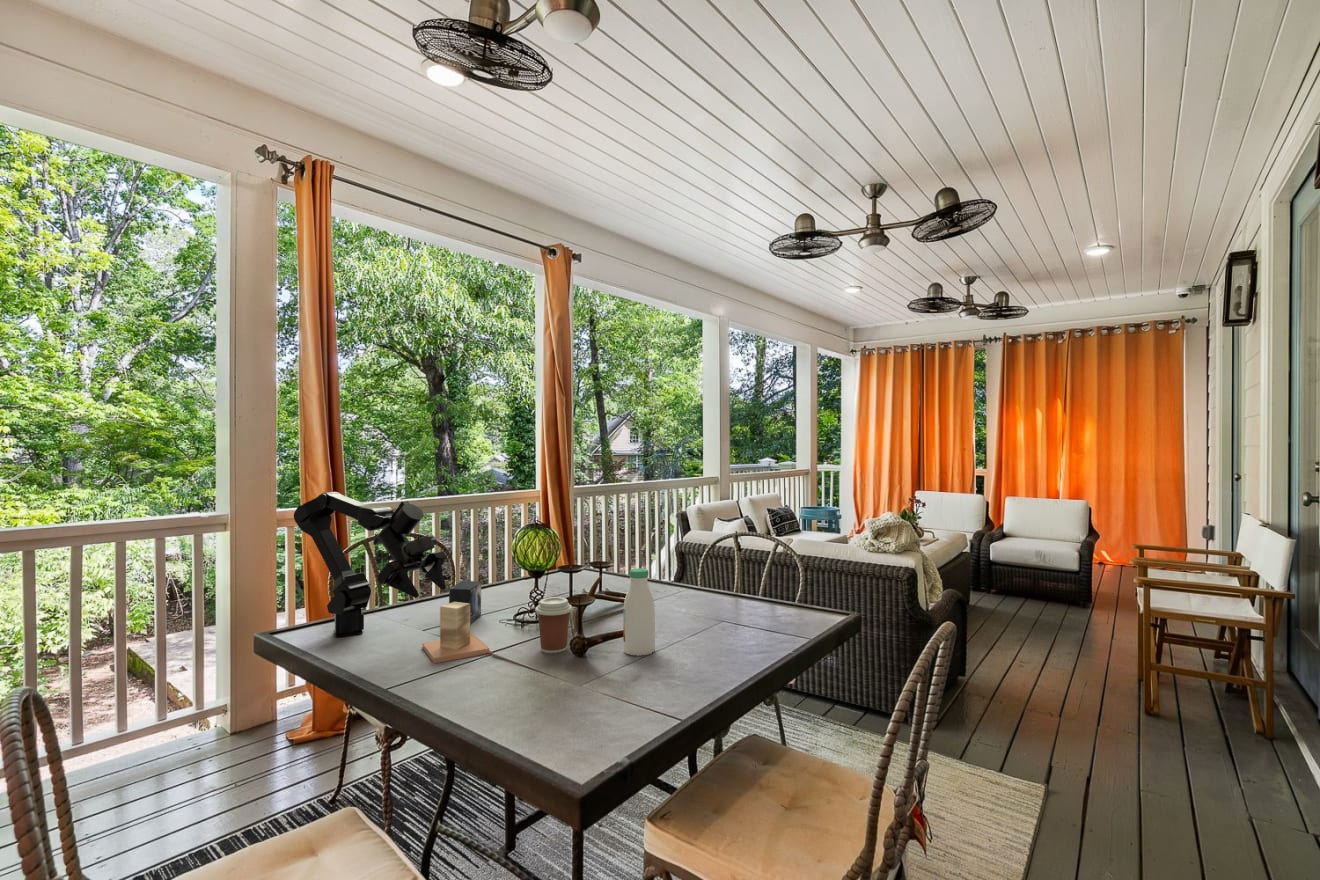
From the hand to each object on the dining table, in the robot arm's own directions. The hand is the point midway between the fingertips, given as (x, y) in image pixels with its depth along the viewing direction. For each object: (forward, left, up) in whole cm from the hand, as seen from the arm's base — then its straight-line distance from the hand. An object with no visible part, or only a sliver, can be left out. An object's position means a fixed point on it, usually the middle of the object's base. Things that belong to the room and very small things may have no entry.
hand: (431, 592), depth 155 cm
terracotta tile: (+4, -6, -14) cm, 16 cm away
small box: (+13, +19, -14) cm, 27 cm away
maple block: (+4, -6, -12) cm, 15 cm away
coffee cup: (+25, -18, -14) cm, 34 cm away
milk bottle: (+42, -31, -14) cm, 54 cm away
